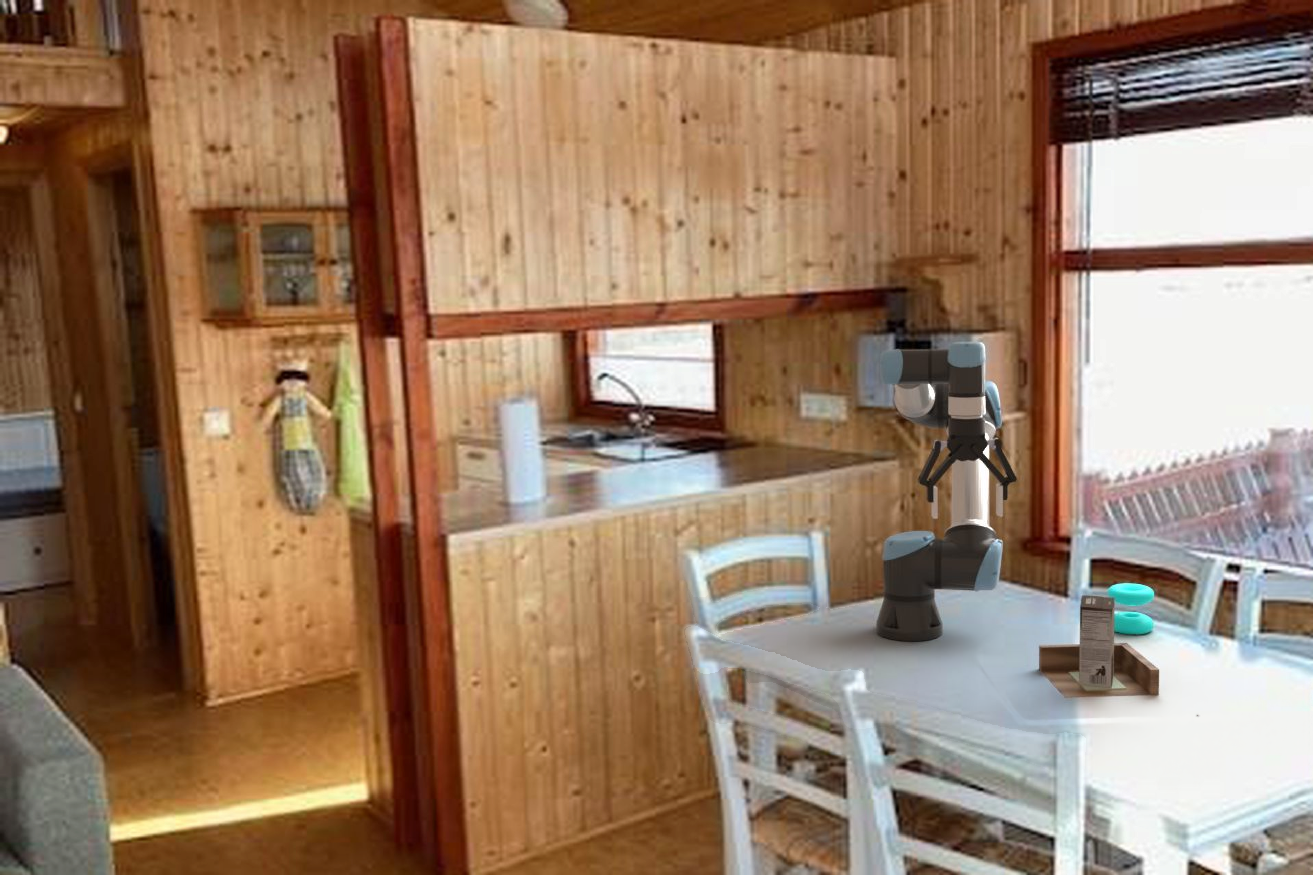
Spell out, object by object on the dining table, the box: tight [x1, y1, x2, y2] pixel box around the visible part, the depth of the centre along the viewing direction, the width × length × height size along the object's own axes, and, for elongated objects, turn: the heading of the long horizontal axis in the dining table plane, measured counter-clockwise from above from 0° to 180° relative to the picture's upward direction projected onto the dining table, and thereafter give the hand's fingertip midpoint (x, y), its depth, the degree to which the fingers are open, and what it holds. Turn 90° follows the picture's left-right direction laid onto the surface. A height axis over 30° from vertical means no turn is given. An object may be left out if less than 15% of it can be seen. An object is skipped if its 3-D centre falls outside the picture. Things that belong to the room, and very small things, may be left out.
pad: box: [1068, 672, 1127, 691], centre depth 260 cm, size 11×8×1 cm
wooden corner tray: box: [1038, 642, 1160, 698], centre depth 259 cm, size 18×18×6 cm
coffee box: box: [1079, 594, 1115, 687], centre depth 259 cm, size 9×6×16 cm
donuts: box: [1107, 582, 1155, 635], centre depth 297 cm, size 10×10×10 cm
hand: (967, 516), depth 273 cm, fingers open, 13 cm apart
